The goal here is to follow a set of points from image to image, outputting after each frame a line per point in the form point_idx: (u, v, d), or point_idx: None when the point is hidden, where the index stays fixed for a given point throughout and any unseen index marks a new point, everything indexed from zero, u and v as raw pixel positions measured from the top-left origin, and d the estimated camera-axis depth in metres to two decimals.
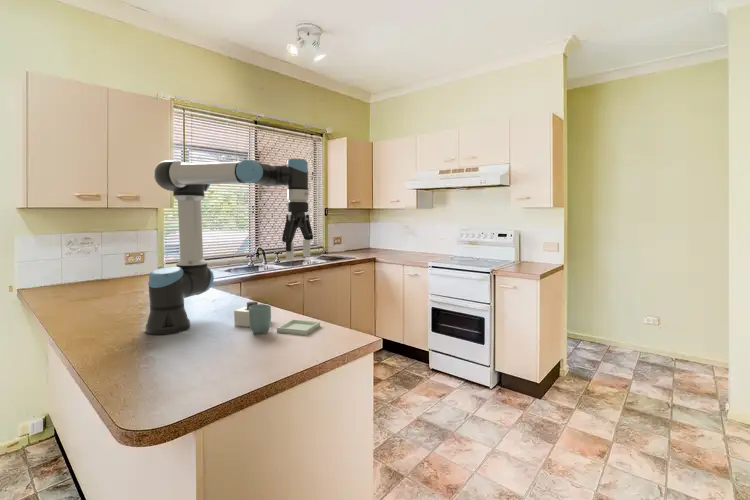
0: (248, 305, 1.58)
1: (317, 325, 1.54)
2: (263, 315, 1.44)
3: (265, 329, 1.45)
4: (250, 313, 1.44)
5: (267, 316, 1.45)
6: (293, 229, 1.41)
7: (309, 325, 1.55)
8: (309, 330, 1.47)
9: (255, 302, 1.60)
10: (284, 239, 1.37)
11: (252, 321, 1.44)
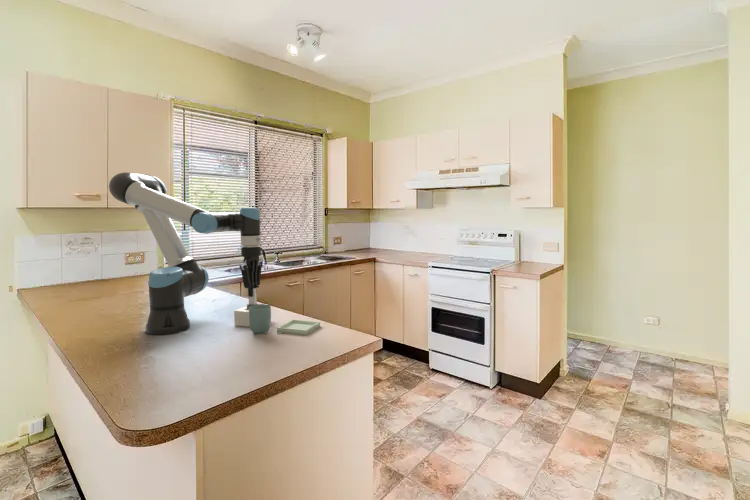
0: (248, 307, 1.58)
1: (317, 325, 1.54)
2: (263, 315, 1.44)
3: (265, 329, 1.45)
4: (250, 313, 1.44)
5: (267, 316, 1.45)
6: (250, 276, 1.56)
7: (309, 325, 1.55)
8: (309, 330, 1.47)
9: (255, 304, 1.60)
10: (246, 287, 1.55)
11: (252, 321, 1.44)
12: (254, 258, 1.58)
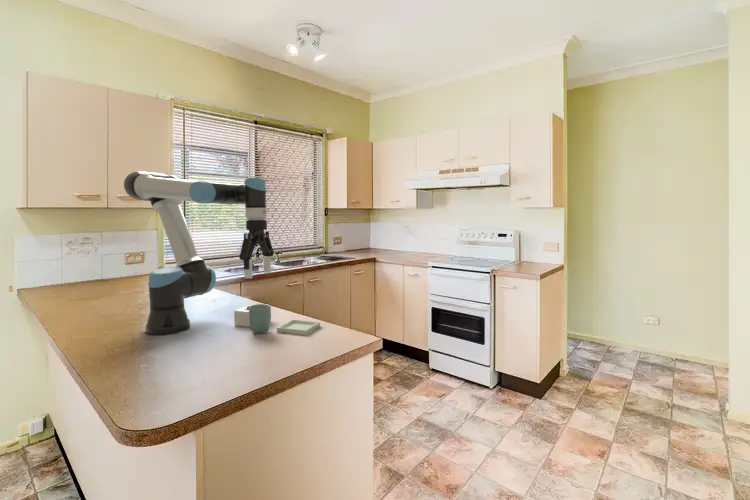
0: (248, 309, 1.58)
1: (317, 325, 1.54)
2: (263, 315, 1.44)
3: (265, 329, 1.45)
4: (250, 313, 1.44)
5: (267, 316, 1.45)
6: (251, 247, 1.43)
7: (309, 325, 1.55)
8: (309, 330, 1.47)
9: None
10: (241, 257, 1.39)
11: (252, 321, 1.44)
12: (260, 232, 1.48)
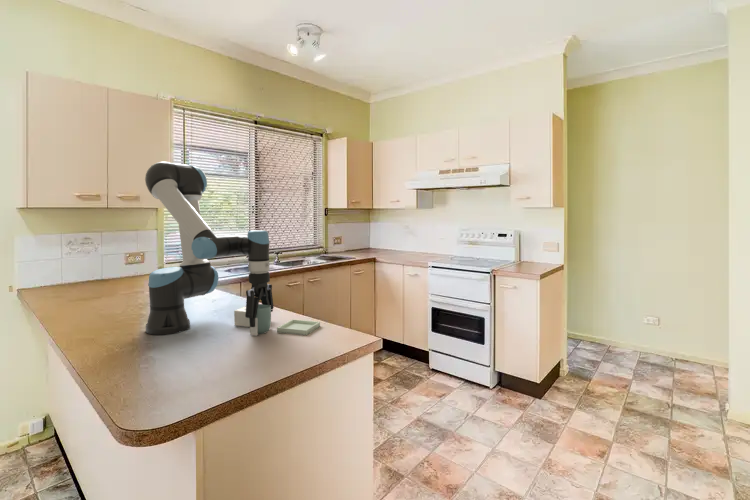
0: None
1: (317, 325, 1.54)
2: (263, 315, 1.44)
3: (265, 329, 1.45)
4: None
5: (267, 316, 1.45)
6: (255, 303, 1.43)
7: (309, 325, 1.55)
8: (309, 330, 1.47)
9: None
10: (247, 317, 1.40)
11: None
12: (262, 285, 1.46)
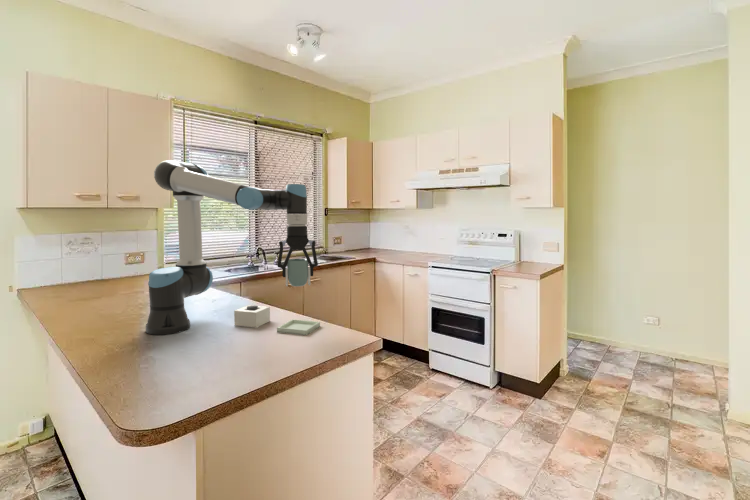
0: (248, 309, 1.58)
1: (317, 325, 1.54)
2: (291, 267, 1.46)
3: (294, 282, 1.47)
4: None
5: (294, 269, 1.46)
6: (287, 255, 1.47)
7: (309, 325, 1.55)
8: (309, 330, 1.47)
9: (255, 306, 1.60)
10: None
11: None
12: (298, 238, 1.48)
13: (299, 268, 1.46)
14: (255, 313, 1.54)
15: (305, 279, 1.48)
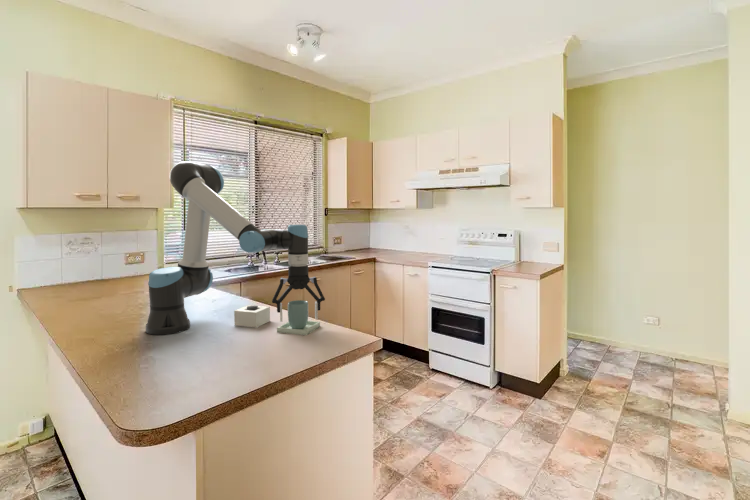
0: (248, 309, 1.58)
1: (317, 325, 1.54)
2: (291, 311, 1.48)
3: (294, 325, 1.48)
4: None
5: (295, 312, 1.47)
6: (285, 292, 1.49)
7: (309, 325, 1.55)
8: (309, 330, 1.47)
9: (255, 306, 1.60)
10: (272, 301, 1.49)
11: None
12: (300, 278, 1.49)
13: (299, 312, 1.48)
14: (255, 313, 1.54)
15: (305, 322, 1.50)
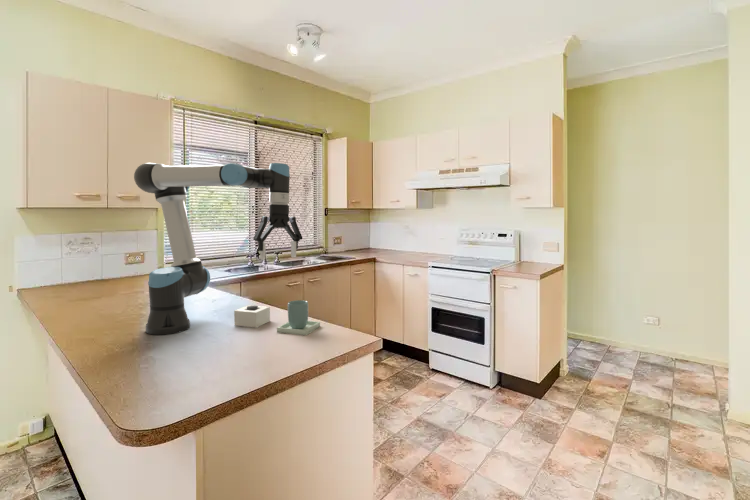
0: (248, 309, 1.58)
1: (317, 325, 1.54)
2: (291, 311, 1.48)
3: (294, 325, 1.48)
4: None
5: (295, 312, 1.47)
6: (267, 230, 1.49)
7: (309, 325, 1.55)
8: (309, 330, 1.47)
9: (255, 306, 1.60)
10: (254, 239, 1.47)
11: None
12: (281, 217, 1.52)
13: (299, 312, 1.48)
14: (255, 313, 1.54)
15: (305, 322, 1.50)
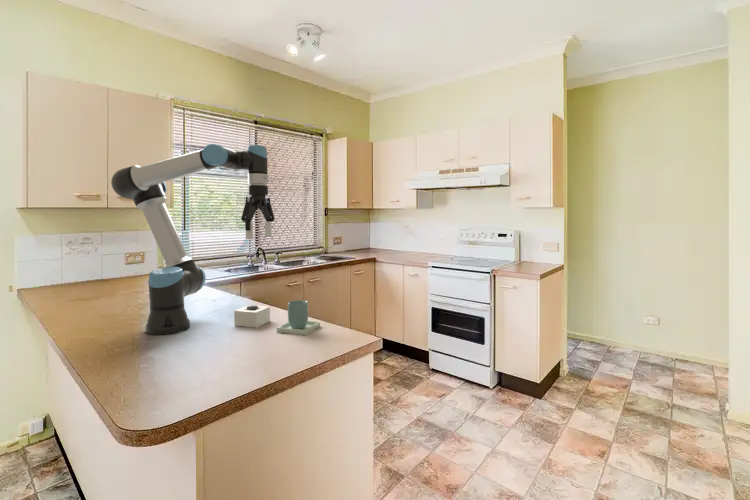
0: (248, 309, 1.58)
1: (317, 325, 1.54)
2: (291, 311, 1.48)
3: (294, 325, 1.48)
4: None
5: (295, 312, 1.47)
6: (252, 210, 1.53)
7: (309, 325, 1.55)
8: (309, 330, 1.47)
9: (255, 306, 1.60)
10: (243, 219, 1.49)
11: None
12: (261, 197, 1.58)
13: (299, 312, 1.48)
14: (255, 313, 1.54)
15: (305, 322, 1.50)
